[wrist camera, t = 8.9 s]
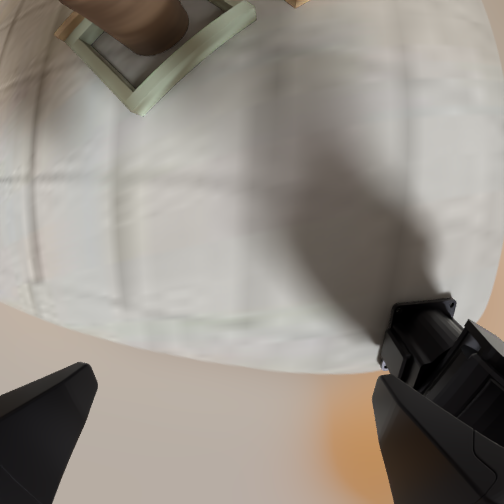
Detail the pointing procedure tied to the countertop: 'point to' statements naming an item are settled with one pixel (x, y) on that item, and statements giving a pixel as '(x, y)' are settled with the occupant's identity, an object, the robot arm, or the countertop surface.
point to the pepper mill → (137, 22)
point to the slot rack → (172, 69)
